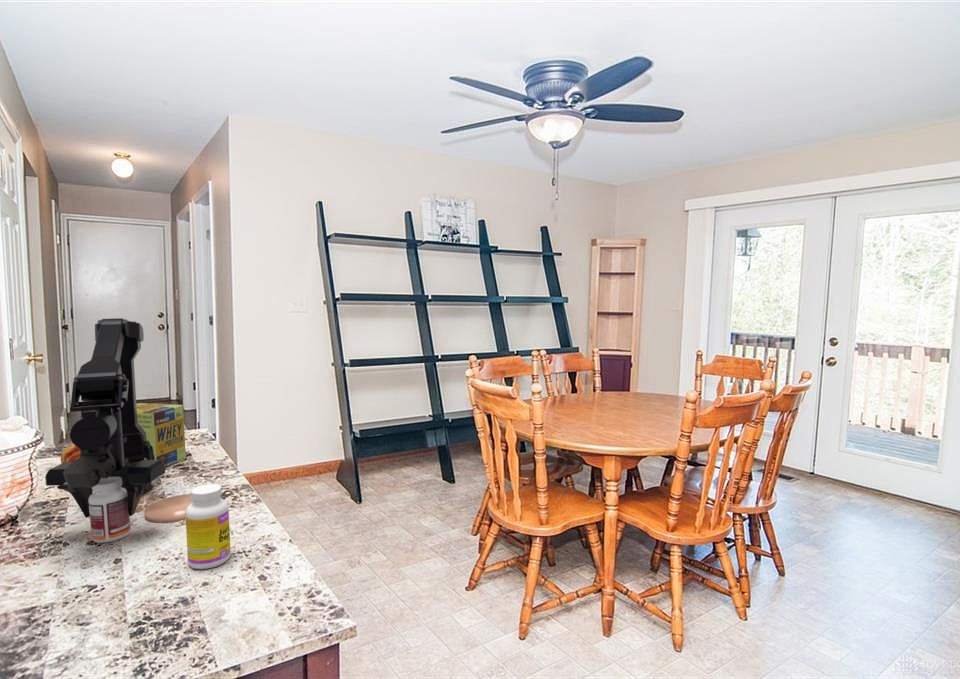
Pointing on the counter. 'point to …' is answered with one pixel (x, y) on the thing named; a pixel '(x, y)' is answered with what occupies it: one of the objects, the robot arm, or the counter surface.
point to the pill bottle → (109, 511)
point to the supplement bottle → (207, 528)
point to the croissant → (70, 454)
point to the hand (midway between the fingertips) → (110, 516)
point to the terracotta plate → (168, 509)
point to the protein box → (163, 430)
